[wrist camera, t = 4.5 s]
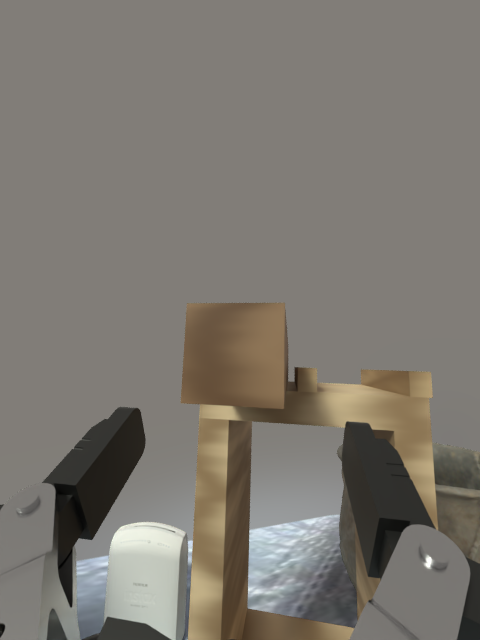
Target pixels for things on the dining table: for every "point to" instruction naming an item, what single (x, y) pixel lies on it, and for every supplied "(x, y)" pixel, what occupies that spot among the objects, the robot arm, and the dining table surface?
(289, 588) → the dining table surface
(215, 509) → the rack
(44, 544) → the robot arm
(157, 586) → the photo printer
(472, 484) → the pot
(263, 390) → the block
